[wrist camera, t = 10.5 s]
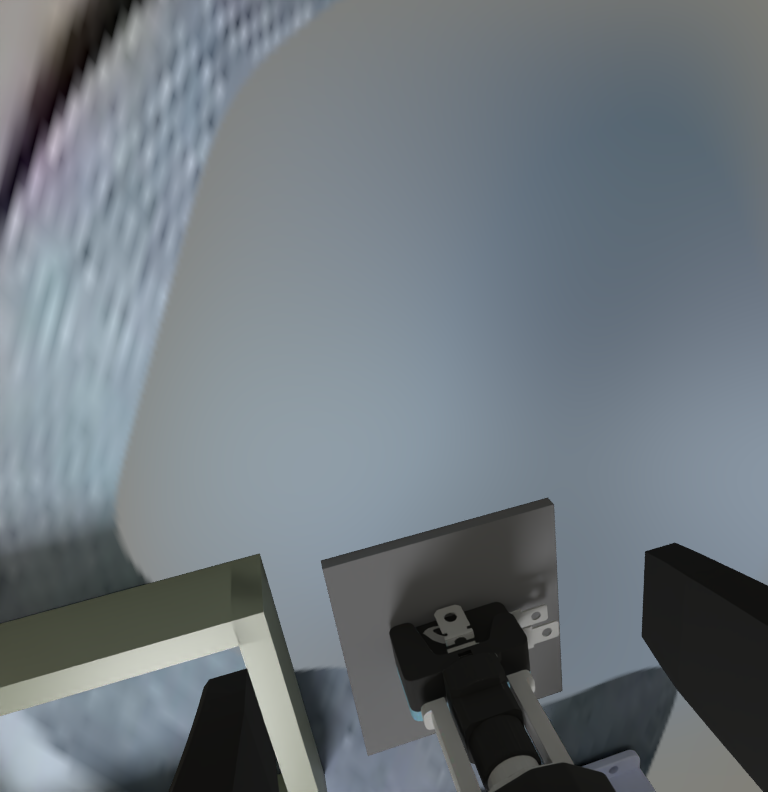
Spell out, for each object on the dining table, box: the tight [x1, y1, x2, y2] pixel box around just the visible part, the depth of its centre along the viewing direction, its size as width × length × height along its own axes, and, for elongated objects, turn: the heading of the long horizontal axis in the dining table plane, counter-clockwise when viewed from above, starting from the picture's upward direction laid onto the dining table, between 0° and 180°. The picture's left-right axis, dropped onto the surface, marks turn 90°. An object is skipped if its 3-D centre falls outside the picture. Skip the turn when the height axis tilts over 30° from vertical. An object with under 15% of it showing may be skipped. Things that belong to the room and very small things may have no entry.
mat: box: [321, 498, 562, 756], centre depth 24 cm, size 9×10×1 cm
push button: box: [389, 602, 616, 792], centre depth 19 cm, size 7×5×10 cm
